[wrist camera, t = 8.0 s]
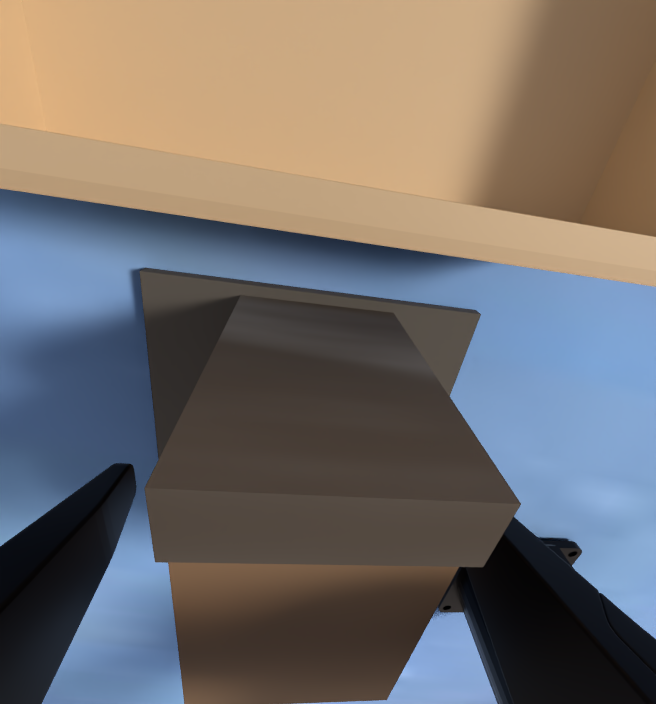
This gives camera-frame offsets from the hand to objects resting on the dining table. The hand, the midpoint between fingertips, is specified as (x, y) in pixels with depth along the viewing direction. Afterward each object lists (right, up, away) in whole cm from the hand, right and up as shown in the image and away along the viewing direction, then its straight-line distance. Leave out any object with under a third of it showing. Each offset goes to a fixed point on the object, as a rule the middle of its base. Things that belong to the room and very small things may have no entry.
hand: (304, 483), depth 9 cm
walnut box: (0, +2, +3) cm, 4 cm away
